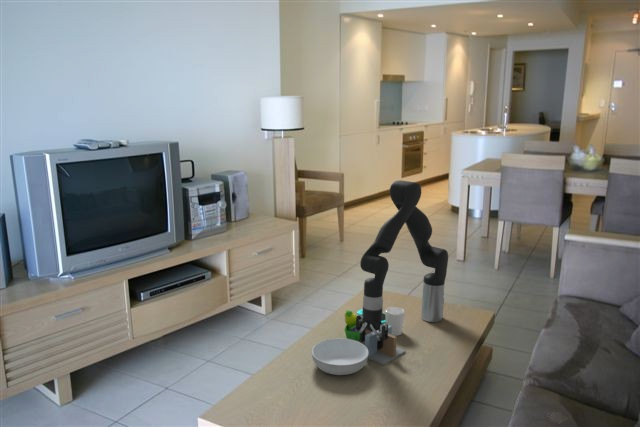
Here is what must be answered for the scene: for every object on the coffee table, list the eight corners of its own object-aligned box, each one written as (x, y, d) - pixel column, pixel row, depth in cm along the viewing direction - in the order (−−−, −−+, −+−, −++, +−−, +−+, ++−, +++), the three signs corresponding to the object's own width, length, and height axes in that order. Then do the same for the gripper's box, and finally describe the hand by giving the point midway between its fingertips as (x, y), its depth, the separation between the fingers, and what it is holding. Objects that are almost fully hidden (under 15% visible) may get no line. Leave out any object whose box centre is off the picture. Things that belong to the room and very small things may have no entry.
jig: (373, 338, 216) (374, 319, 214) (405, 352, 205) (406, 331, 203) (350, 350, 206) (351, 329, 204) (382, 365, 195) (383, 343, 193)
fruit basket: (361, 344, 211) (362, 318, 209) (340, 340, 214) (341, 315, 211) (368, 332, 222) (369, 307, 219) (347, 329, 224) (348, 304, 222)
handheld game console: (371, 308, 247) (371, 306, 247) (394, 320, 235) (394, 317, 234) (354, 313, 241) (354, 310, 241) (377, 326, 229) (378, 323, 228)
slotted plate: (387, 342, 211) (387, 324, 209) (390, 344, 209) (391, 326, 207) (364, 354, 201) (365, 335, 199) (368, 356, 200) (369, 337, 198)
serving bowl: (338, 348, 207) (338, 332, 206) (379, 368, 193) (380, 351, 191) (299, 366, 193) (299, 349, 192) (340, 389, 179) (341, 371, 177)
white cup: (402, 328, 225) (403, 307, 223) (403, 337, 218) (404, 314, 215) (384, 327, 226) (385, 306, 224) (384, 336, 218) (385, 313, 216)
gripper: (393, 308, 195) (391, 348, 199) (364, 297, 205) (363, 335, 209) (381, 314, 190) (379, 354, 194) (352, 302, 200) (350, 341, 204)
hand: (371, 345), depth 201 cm, fingers open, 8 cm apart
